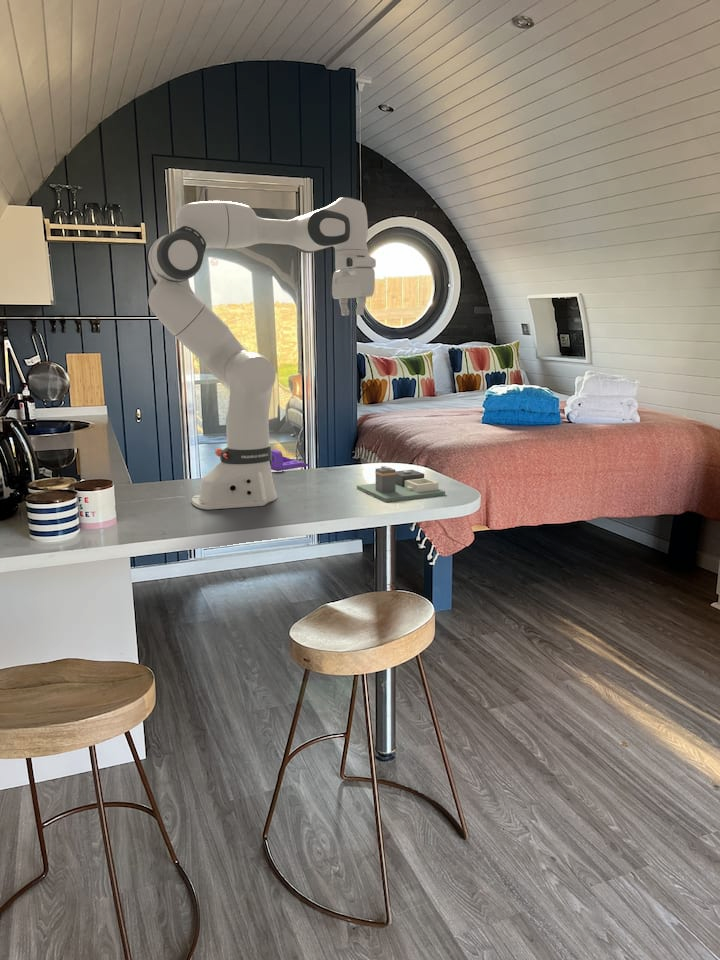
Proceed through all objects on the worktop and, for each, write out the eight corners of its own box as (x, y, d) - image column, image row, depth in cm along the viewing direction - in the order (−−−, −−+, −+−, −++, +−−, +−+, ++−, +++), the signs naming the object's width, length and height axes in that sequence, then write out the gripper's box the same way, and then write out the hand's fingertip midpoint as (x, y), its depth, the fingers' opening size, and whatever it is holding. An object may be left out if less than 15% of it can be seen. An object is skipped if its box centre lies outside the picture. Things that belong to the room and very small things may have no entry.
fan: (402, 486, 207) (402, 474, 207) (390, 482, 213) (390, 470, 213) (424, 484, 210) (424, 472, 209) (412, 479, 216) (412, 468, 216)
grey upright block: (382, 493, 200) (382, 469, 198) (375, 490, 203) (375, 466, 202) (395, 491, 201) (395, 467, 200) (388, 488, 205) (388, 465, 204)
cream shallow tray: (414, 492, 200) (414, 485, 200) (401, 487, 206) (402, 480, 206) (438, 489, 203) (438, 482, 203) (425, 485, 209) (425, 478, 209)
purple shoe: (277, 473, 234) (276, 452, 233) (265, 470, 239) (265, 449, 238) (308, 468, 242) (308, 447, 240) (296, 465, 247) (295, 445, 245)
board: (385, 502, 194) (385, 498, 194) (356, 488, 210) (356, 485, 210) (445, 495, 201) (445, 491, 201) (412, 482, 217) (412, 479, 217)
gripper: (325, 265, 208) (327, 315, 211) (356, 259, 190) (357, 314, 193) (346, 265, 211) (347, 315, 213) (378, 259, 192) (379, 314, 195)
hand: (352, 315), depth 203 cm, fingers open, 8 cm apart
